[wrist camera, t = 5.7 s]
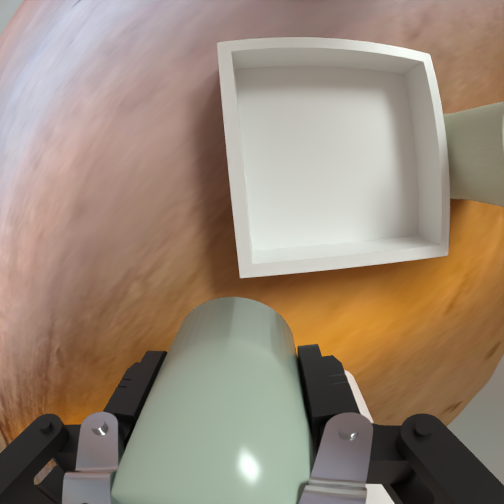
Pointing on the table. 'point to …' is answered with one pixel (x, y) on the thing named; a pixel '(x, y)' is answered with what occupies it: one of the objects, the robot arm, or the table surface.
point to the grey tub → (333, 154)
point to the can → (476, 153)
